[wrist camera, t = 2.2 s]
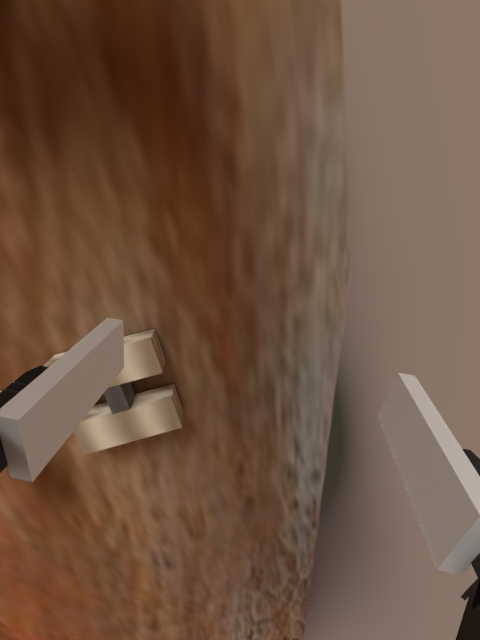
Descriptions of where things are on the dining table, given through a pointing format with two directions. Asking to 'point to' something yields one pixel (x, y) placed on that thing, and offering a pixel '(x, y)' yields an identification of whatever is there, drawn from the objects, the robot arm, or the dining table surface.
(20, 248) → the dining table surface
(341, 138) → the dining table surface
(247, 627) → the dining table surface
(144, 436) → the slotted stand
